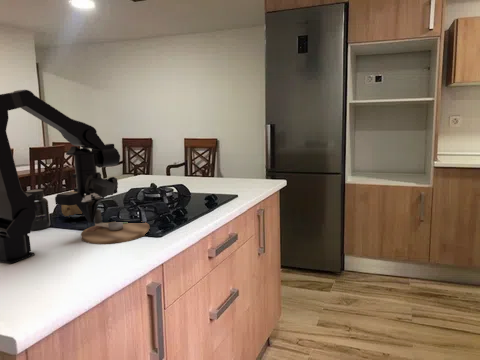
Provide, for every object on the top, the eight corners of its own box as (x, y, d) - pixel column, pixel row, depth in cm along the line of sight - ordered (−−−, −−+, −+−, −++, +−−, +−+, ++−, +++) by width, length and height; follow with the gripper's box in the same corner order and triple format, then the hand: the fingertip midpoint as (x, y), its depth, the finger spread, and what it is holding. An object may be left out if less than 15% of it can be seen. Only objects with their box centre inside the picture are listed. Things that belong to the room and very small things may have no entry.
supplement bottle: (40, 231, 116) (35, 192, 114) (21, 230, 117) (16, 192, 115) (55, 225, 122) (51, 188, 120) (37, 224, 124) (32, 188, 122)
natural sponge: (95, 215, 133) (93, 187, 132) (85, 222, 125) (82, 192, 123) (70, 216, 134) (67, 188, 132) (58, 223, 125) (54, 193, 123)
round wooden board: (121, 246, 98) (120, 241, 98) (66, 240, 105) (65, 235, 105) (162, 226, 116) (162, 222, 115) (112, 222, 123) (112, 218, 123)
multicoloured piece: (126, 227, 111) (124, 211, 110) (115, 231, 108) (114, 214, 107) (101, 223, 116) (100, 208, 115) (90, 227, 112) (89, 211, 112)
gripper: (83, 175, 97) (88, 234, 99) (129, 166, 114) (133, 216, 116) (50, 174, 101) (57, 230, 104) (100, 165, 118) (104, 214, 121)
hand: (90, 222), depth 111 cm, fingers closed
